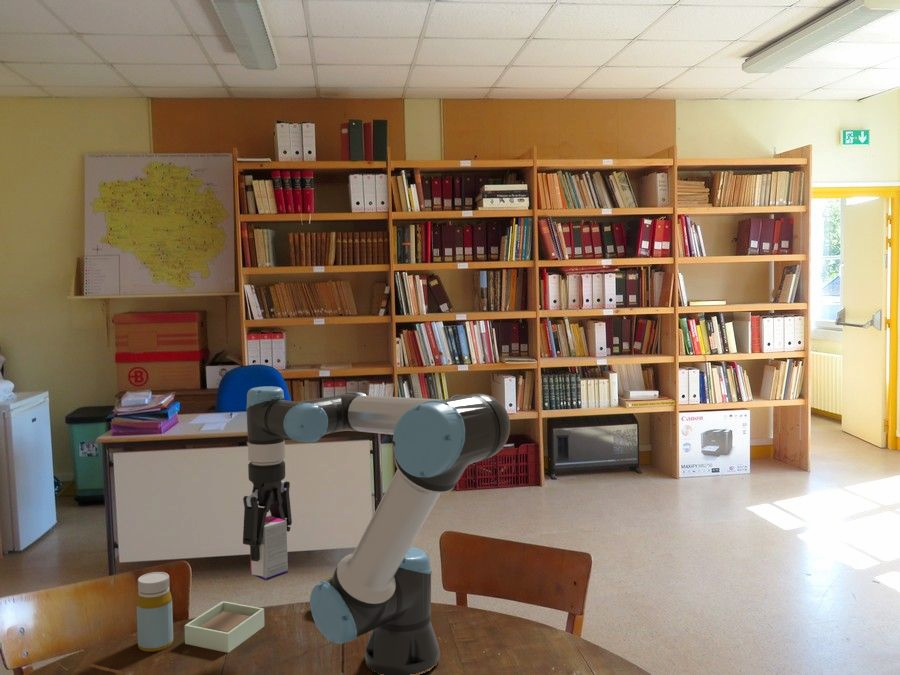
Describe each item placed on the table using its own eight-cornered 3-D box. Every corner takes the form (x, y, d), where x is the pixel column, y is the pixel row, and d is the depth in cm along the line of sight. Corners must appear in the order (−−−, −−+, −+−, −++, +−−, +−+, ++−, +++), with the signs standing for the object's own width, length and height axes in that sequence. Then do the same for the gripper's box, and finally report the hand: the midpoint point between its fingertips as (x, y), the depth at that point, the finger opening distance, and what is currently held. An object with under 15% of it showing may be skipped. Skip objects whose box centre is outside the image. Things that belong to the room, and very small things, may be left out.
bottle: (161, 655, 162) (159, 585, 161) (131, 652, 164) (128, 582, 163) (179, 640, 169) (177, 572, 168) (150, 637, 171) (148, 570, 169)
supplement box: (289, 572, 166) (287, 520, 165) (265, 581, 162) (263, 527, 161) (273, 565, 170) (271, 514, 169) (249, 574, 166) (247, 521, 165)
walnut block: (250, 629, 173) (249, 616, 173) (227, 645, 166) (227, 631, 166) (223, 624, 176) (223, 611, 175) (200, 639, 168) (200, 626, 168)
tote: (264, 628, 175) (264, 608, 174) (228, 654, 163) (227, 633, 162) (223, 620, 179) (222, 601, 178) (185, 645, 167) (184, 625, 166)
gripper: (278, 449, 175) (280, 549, 176) (221, 470, 156) (224, 583, 158) (307, 452, 172) (309, 554, 174) (253, 474, 153) (256, 588, 155)
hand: (269, 567), depth 166 cm, fingers closed on supplement box, 7 cm apart
